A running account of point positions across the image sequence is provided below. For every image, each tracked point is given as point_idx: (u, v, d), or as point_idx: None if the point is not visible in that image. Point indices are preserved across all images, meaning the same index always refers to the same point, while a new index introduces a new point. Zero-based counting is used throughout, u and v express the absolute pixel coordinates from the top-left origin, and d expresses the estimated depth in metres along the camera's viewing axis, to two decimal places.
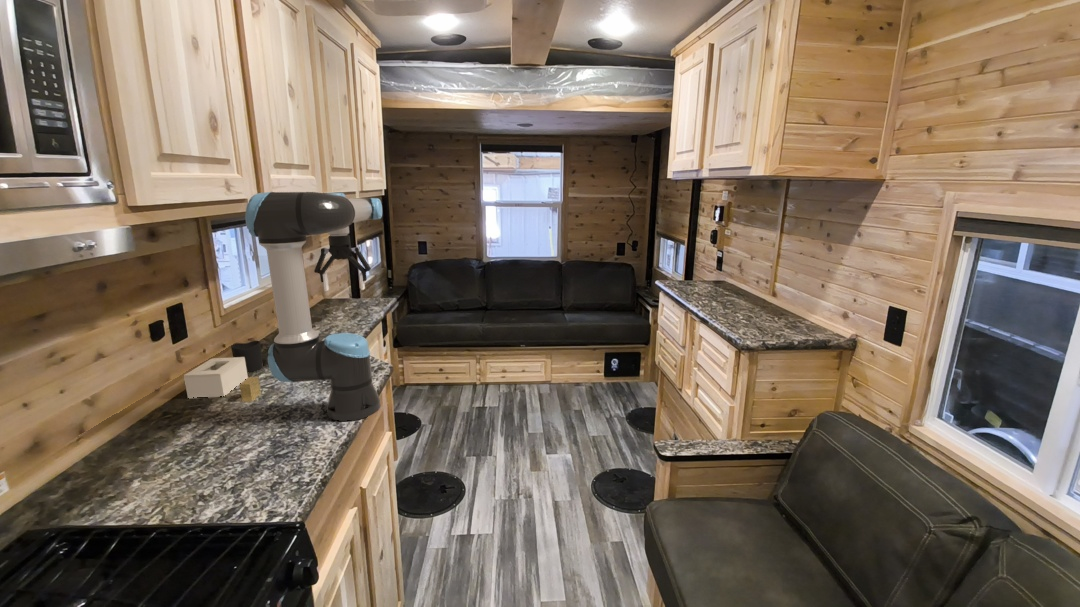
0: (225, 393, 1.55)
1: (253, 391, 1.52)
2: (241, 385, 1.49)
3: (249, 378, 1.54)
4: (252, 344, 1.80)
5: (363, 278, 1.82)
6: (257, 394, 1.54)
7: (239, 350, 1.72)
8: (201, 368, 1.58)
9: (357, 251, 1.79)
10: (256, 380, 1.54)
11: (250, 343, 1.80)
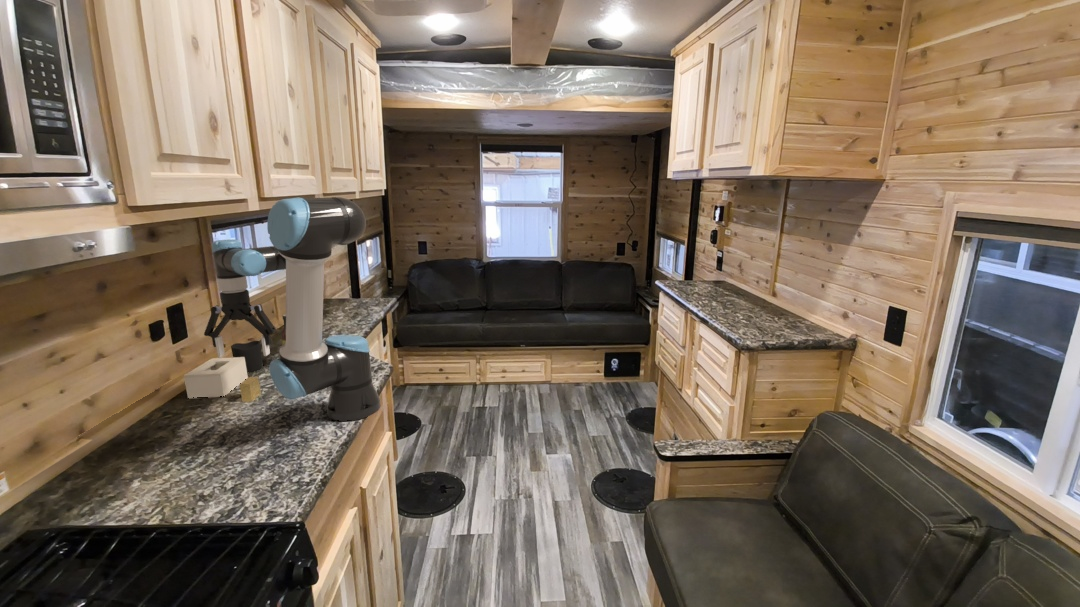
0: (225, 393, 1.55)
1: (253, 391, 1.52)
2: (241, 385, 1.49)
3: (249, 378, 1.54)
4: (252, 344, 1.80)
5: (266, 342, 1.50)
6: (257, 394, 1.54)
7: (239, 350, 1.72)
8: (201, 368, 1.58)
9: (257, 310, 1.46)
10: (256, 380, 1.54)
11: (250, 343, 1.80)
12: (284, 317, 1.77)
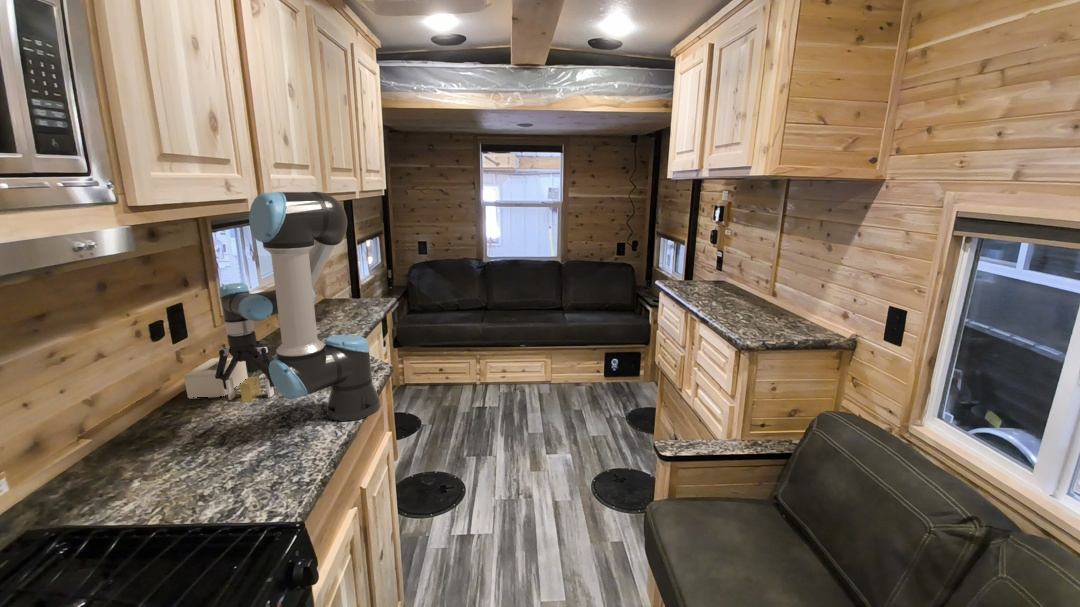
0: (225, 393, 1.55)
1: (253, 391, 1.52)
2: (241, 385, 1.49)
3: (249, 378, 1.54)
4: None
5: (270, 384, 1.53)
6: (257, 394, 1.54)
7: None
8: (201, 368, 1.58)
9: (263, 352, 1.50)
10: (256, 380, 1.54)
11: None
12: None
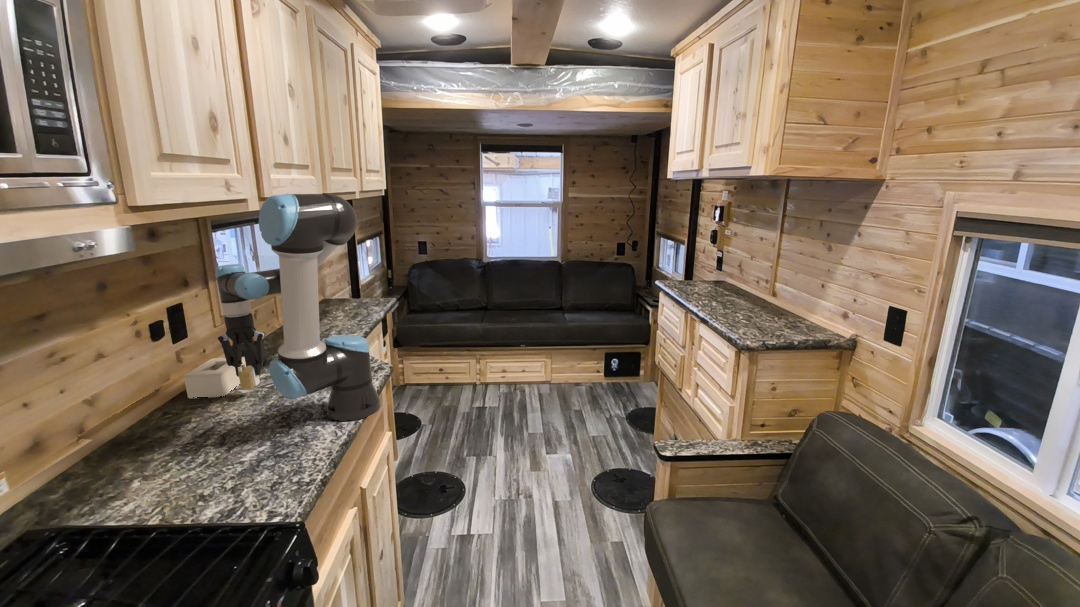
0: (225, 393, 1.55)
1: None
2: (240, 373, 1.48)
3: (248, 366, 1.53)
4: None
5: (255, 372, 1.51)
6: None
7: None
8: (201, 368, 1.58)
9: (259, 338, 1.48)
10: None
11: None
12: None
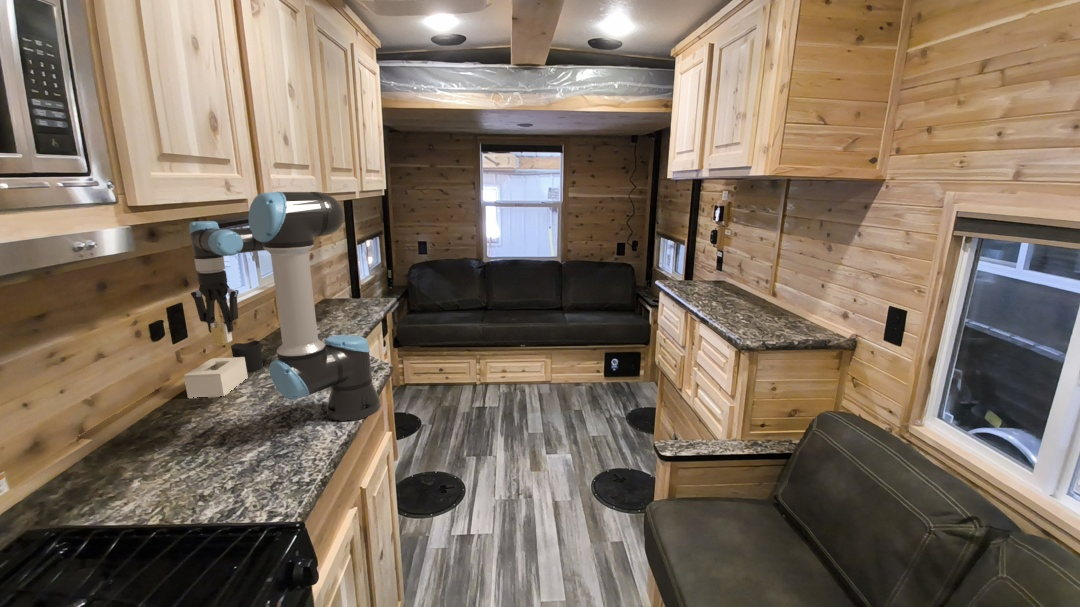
0: (225, 393, 1.55)
1: None
2: (212, 329, 1.51)
3: (221, 323, 1.55)
4: (252, 344, 1.80)
5: (228, 329, 1.53)
6: None
7: (239, 350, 1.72)
8: (201, 368, 1.58)
9: (232, 296, 1.50)
10: None
11: (250, 343, 1.80)
12: None
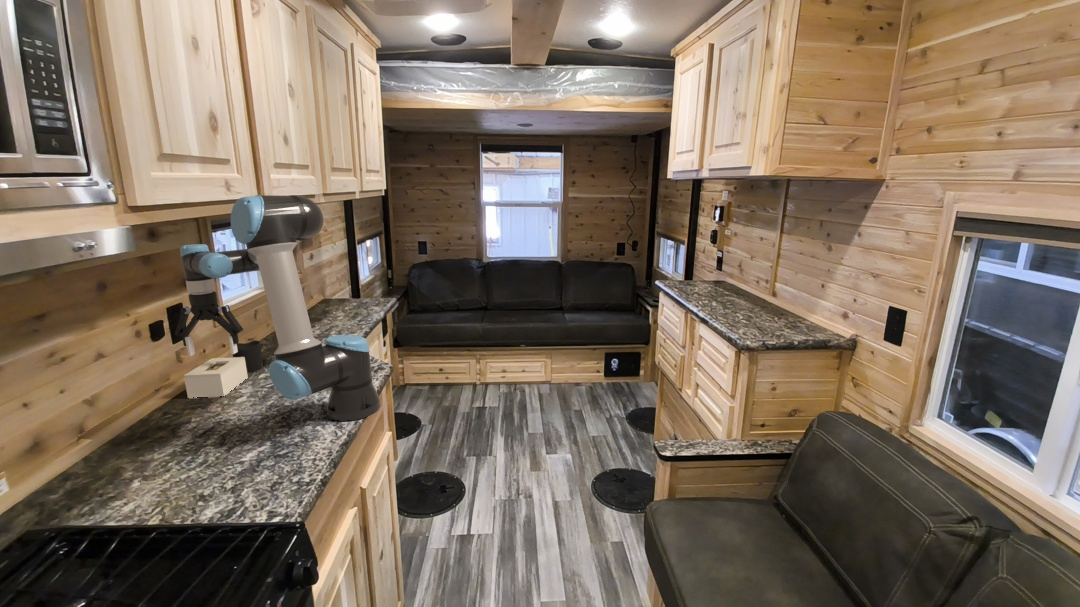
0: (225, 393, 1.55)
1: None
2: None
3: (216, 367, 1.62)
4: (252, 344, 1.80)
5: (233, 341, 1.58)
6: None
7: (239, 350, 1.72)
8: (201, 368, 1.58)
9: (224, 311, 1.55)
10: None
11: (250, 343, 1.80)
12: None
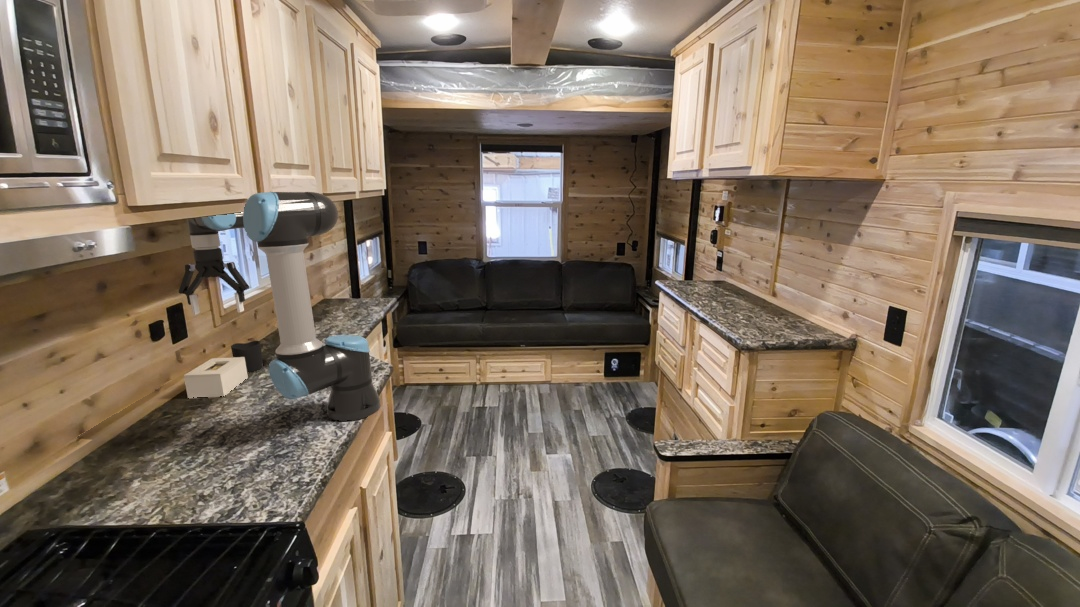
0: (225, 393, 1.55)
1: None
2: None
3: (216, 367, 1.62)
4: (252, 344, 1.80)
5: (240, 299, 1.54)
6: None
7: (239, 350, 1.72)
8: (201, 368, 1.58)
9: (230, 267, 1.51)
10: None
11: (250, 343, 1.80)
12: None
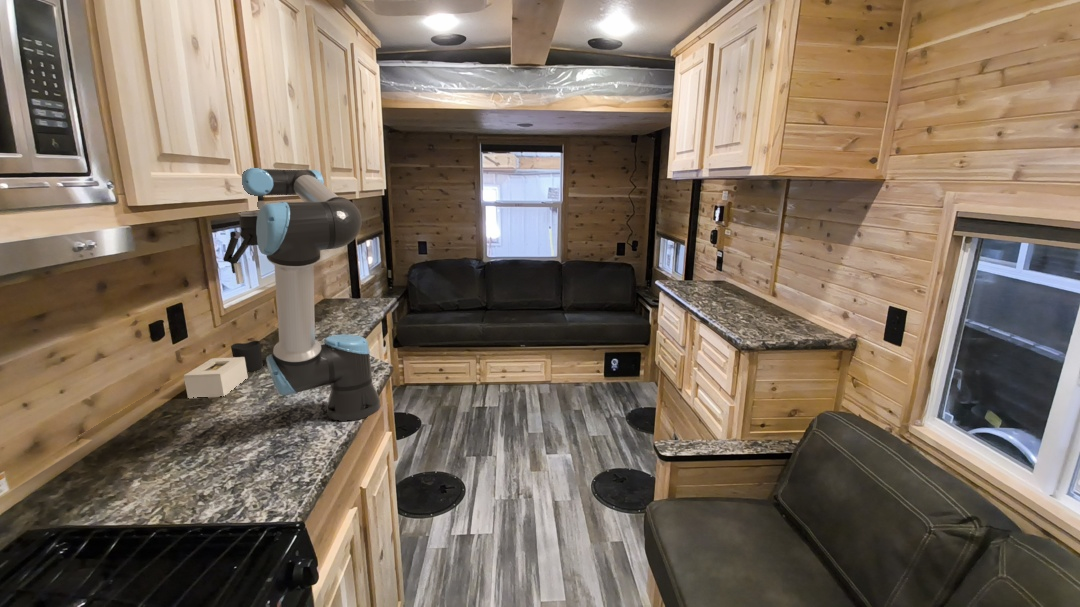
0: (225, 393, 1.55)
1: None
2: None
3: (216, 367, 1.62)
4: (252, 344, 1.80)
5: None
6: None
7: (239, 350, 1.72)
8: (201, 368, 1.58)
9: None
10: None
11: (250, 343, 1.80)
12: None
